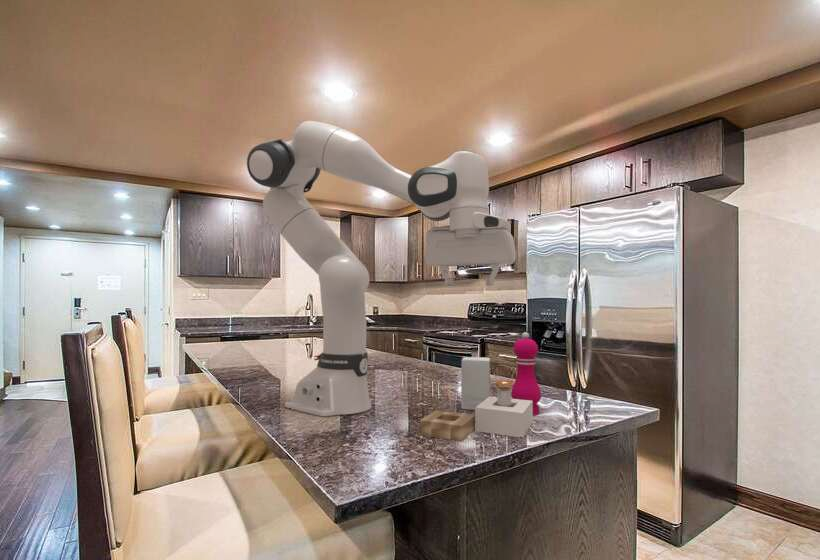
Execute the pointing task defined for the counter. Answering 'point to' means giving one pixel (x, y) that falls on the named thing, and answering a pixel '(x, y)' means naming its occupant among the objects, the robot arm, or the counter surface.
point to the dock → (504, 417)
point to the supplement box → (474, 381)
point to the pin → (504, 392)
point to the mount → (447, 425)
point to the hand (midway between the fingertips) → (469, 285)
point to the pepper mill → (526, 372)
